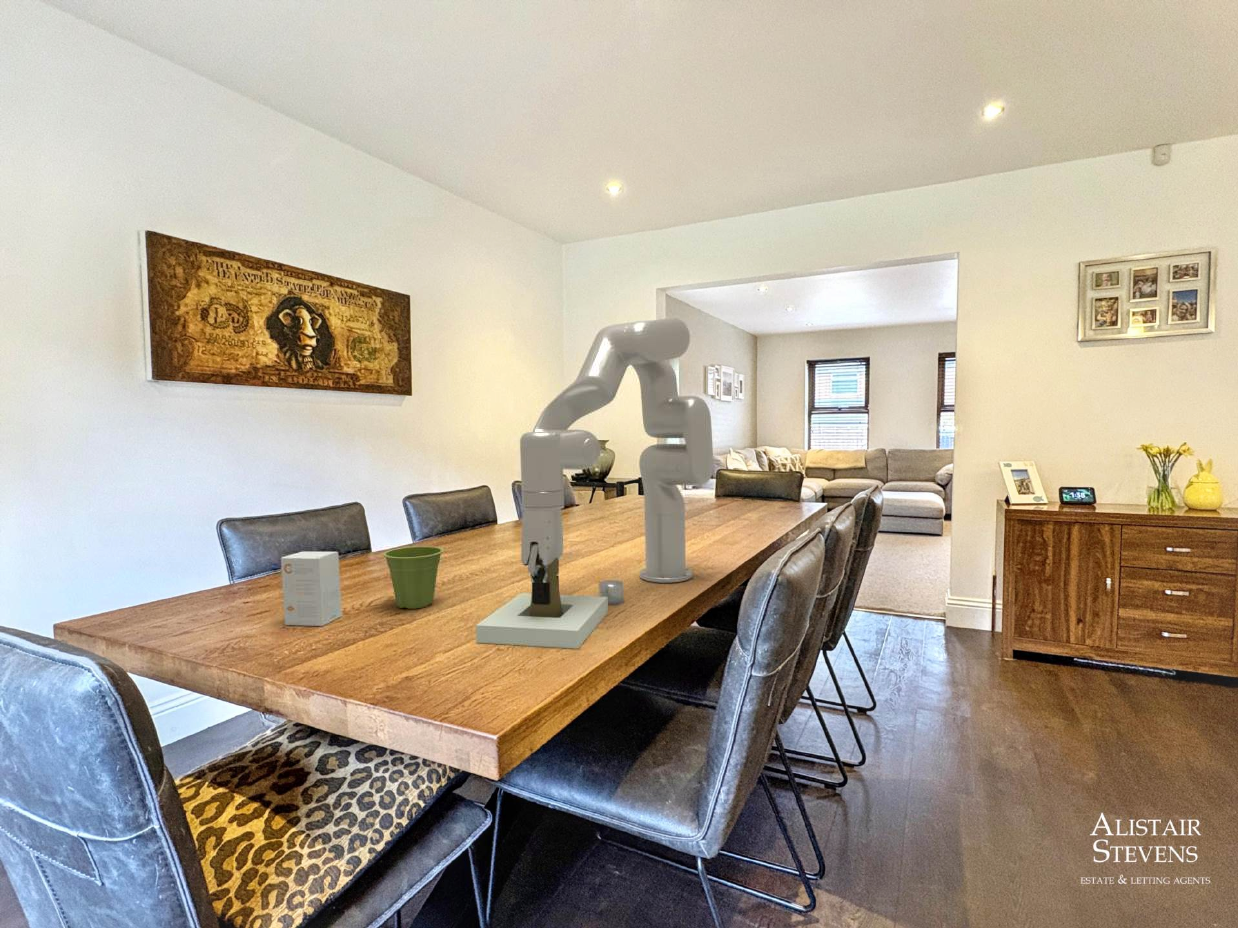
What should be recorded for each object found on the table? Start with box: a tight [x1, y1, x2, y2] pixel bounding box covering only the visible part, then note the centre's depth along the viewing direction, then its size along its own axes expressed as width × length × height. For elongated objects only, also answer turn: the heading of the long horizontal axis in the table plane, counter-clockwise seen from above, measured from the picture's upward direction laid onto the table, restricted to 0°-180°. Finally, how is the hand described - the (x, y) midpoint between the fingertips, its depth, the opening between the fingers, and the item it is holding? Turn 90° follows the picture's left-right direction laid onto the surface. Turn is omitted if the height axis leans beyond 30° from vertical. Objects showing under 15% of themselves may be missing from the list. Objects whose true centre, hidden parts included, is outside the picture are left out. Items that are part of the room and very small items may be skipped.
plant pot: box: [382, 545, 444, 610], centre depth 128 cm, size 12×12×11 cm
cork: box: [530, 557, 563, 618], centre depth 112 cm, size 6×6×11 cm
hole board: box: [475, 592, 609, 650], centre depth 112 cm, size 20×18×3 cm
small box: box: [280, 551, 343, 627], centre depth 118 cm, size 8×6×13 cm
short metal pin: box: [598, 579, 625, 606], centre depth 127 cm, size 5×5×4 cm
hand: (546, 599), depth 112 cm, fingers closed on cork, 4 cm apart
